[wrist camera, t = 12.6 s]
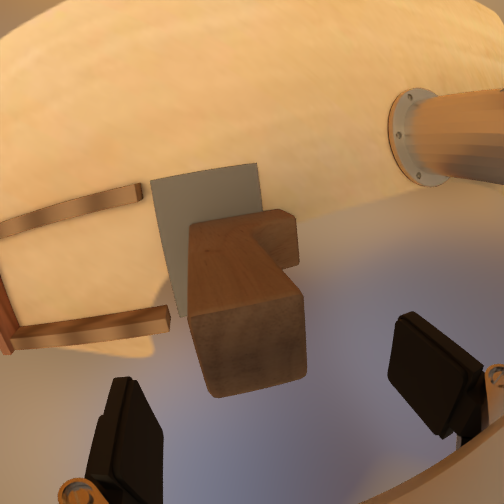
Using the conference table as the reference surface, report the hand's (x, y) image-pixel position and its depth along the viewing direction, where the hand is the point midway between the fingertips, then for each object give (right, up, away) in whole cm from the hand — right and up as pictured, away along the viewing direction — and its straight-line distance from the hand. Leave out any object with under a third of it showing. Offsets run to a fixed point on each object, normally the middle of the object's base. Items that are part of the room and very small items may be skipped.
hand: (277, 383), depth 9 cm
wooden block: (-2, +6, +19) cm, 20 cm away
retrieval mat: (-4, +5, +19) cm, 20 cm away
